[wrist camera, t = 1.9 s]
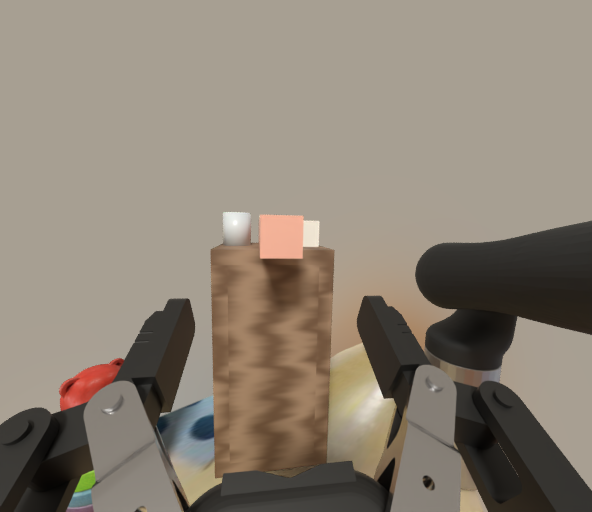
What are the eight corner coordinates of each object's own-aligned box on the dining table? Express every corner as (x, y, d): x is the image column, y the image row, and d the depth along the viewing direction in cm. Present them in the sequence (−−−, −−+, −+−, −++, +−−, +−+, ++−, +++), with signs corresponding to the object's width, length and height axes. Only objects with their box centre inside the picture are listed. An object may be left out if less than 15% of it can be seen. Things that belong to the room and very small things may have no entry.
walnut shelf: (307, 399, 50) (311, 243, 47) (326, 463, 37) (334, 250, 33) (227, 406, 48) (225, 242, 44) (215, 478, 34) (210, 249, 31)
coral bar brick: (280, 243, 46) (280, 221, 45) (302, 258, 23) (303, 215, 23) (258, 242, 45) (258, 221, 45) (260, 258, 23) (260, 214, 22)
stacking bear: (63, 583, 24) (45, 415, 22) (36, 515, 29) (20, 376, 27) (171, 487, 33) (165, 362, 31) (135, 449, 38) (128, 340, 36)
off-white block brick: (311, 244, 43) (312, 221, 43) (318, 246, 38) (319, 221, 38) (291, 244, 43) (291, 221, 42) (295, 246, 38) (296, 220, 37)
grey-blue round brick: (251, 244, 41) (251, 214, 41) (250, 246, 37) (250, 212, 36) (225, 244, 41) (224, 213, 40) (221, 245, 36) (221, 211, 36)
